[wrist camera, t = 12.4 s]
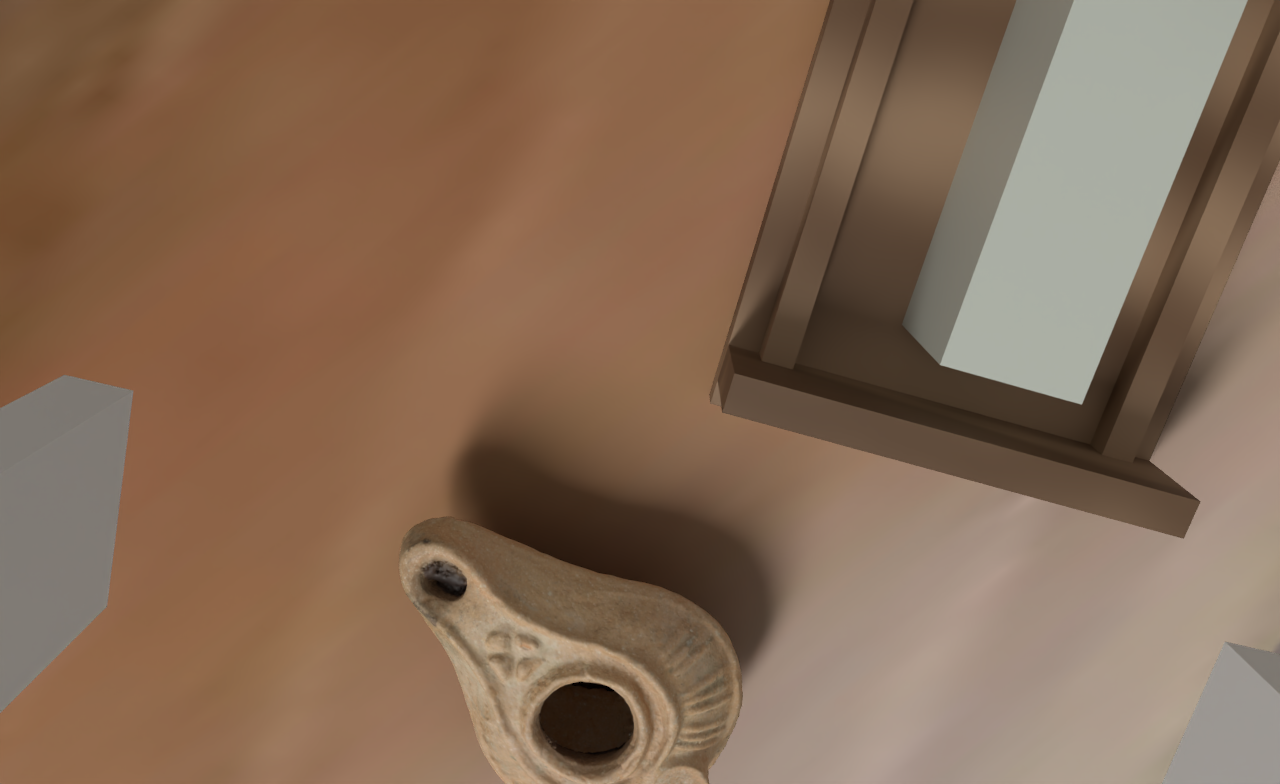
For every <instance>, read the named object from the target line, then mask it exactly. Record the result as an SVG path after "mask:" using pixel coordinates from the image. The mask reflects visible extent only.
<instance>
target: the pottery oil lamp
mask: <svg viewBox="0 0 1280 784" xmlns="http://www.w3.org/2000/svg"><path fill="white" fill-rule="evenodd" d="M399 572H400V577H401V582H402V585H403V589H404V591H405V593H406V595H407V596H408V598H409V599H410V600H411V601H412V603H413V604H414V605H415V607H416V608H417V610H418V611H419V613H420V614H421V615H422V616H423V619H424V620H425V622H426V623H427V624H428V626H429V627H430V629H431V630H432V631H433V633H434V634H435V635H436V637H437V638H438V640H439V641H440V643H441V644H442V646H443V647H444V649H445V651H446V653H447V654H448V656H449V658H450V660H451V662H452V664H453V666H454V668H455V671H456V673H457V676H458V680H459V682H460V685H461V688H462V690H463V693H464V696H465V701H466V704H467V706H468V709H469V713H470V715H471V719H472V722H473V725H474V729H475V732H476V736H477V739H478V742H479V744H480V747H481V749H482V751H483V753H484V755H485V757H486V758H487V760H488V762H489V763H490V764H491V766H492V767H493V769H494V771H495V772H496V773H497V774H498V776H499V777H500V778H501V779H502V780H503V781H504V782H505V783H506V784H709V780H708V770H709V769H710V768H711V766H713V764H714V763H715V761H716V760H717V758H718V757H719V755H720V753H721V752H722V750H723V749H724V747H725V745H726V743H727V741H728V739H729V737H730V735H731V733H732V731H733V729H734V727H735V725H736V721H737V719H738V717H739V712H740V708H741V706H742V697H743V692H742V675H741V669H740V666H739V660H738V657H737V654H736V652H735V650H734V648H733V646H732V642H731V640H730V638H729V636H728V635H727V633H726V632H725V631H724V629H723V628H722V627H721V625H720V624H719V623H718V622H717V621H716V620H715V618H713V617H712V616H711V615H710V614H709V613H708V612H707V611H705V610H704V609H702V608H701V607H699V606H698V605H696V604H694V603H693V602H691V601H690V600H688V599H686V598H685V597H683V596H682V595H679V594H677V593H674V592H672V591H669V590H667V589H665V588H662V587H660V586H656V585H652V584H649V583H645V582H638V581H633V580H627V579H622V578H619V577H616V576H613V575H607V574H602V573H597V572H594V571H592V570H588V569H586V568H582V567H579V566H576V565H573V564H570V563H568V562H564V561H562V560H559V559H556V558H554V557H552V556H550V555H548V554H545V553H541V552H539V551H537V550H535V549H533V548H531V547H529V546H527V545H525V544H522V543H519V542H517V541H515V540H512V539H509V538H506V537H504V536H502V535H499V534H497V533H495V532H493V531H491V530H488V529H486V528H484V527H482V526H479V525H477V524H473V523H471V522H467V521H463V520H458V519H455V518H453V517H441V518H432V519H428V520H426V521H423V522H421V523H419V524H417V525H415V526H414V527H412V528H411V529H410V530H409V531H408V532H407V534H406V535H405V537H404V539H403V541H402V544H401V547H400V553H399ZM580 681H583V682H589V683H593V684H596V685H606V686H608V687H610V688H612V689H613V690H615V691H614V692H609V691H606V690H605V689H603V688H601V689H596V688H593V689H591V690H589V689H587V688H584V687H581V686H572V685H570V684H571V683H576V682H580Z"/></svg>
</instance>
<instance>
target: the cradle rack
mask: <svg viewBox="0 0 1280 784" xmlns="http://www.w3.org/2000/svg"><path fill="white" fill-rule="evenodd" d="M1015 3H1016V0H830V3H829V6H828V9H827V12H826V16H825V19H824V22H823V26H822V29H821V32H820V35H819V39H818V42H817V45H816V48H815V52H814V55H813V58H812V61H811V65H810V68H809V71H808V75H807V78H806V81H805V84H804V88H803V91H802V94H801V97H800V101H799V104H798V107H797V110H796V114H795V117H794V120H793V123H792V127H791V130H790V133H789V137H788V140H787V143H786V146H785V150H784V153H783V156H782V159H781V163H780V166H779V169H778V172H777V176H776V179H775V182H774V186H773V189H772V192H771V195H770V199H769V202H768V205H767V208H766V212H765V215H764V218H763V221H762V225H761V228H760V231H759V234H758V238H757V241H756V244H755V248H754V251H753V254H752V257H751V261H750V264H749V267H748V270H747V274H746V277H745V280H744V283H743V287H742V290H741V293H740V297H739V300H738V303H737V306H736V310H735V313H734V316H733V319H732V323H731V326H730V329H729V332H728V336H727V339H726V342H725V345H724V349H723V352H722V355H721V359H720V362H719V365H718V368H717V372H716V375H715V378H714V381H713V385H712V388H711V391H710V394H709V395H710V403H711V404H715V405H718V406H722V412H723V413H726V414H730V415H734V416H737V417H741V418H745V419H748V420H752V421H756V422H759V423H763V424H767V425H770V426H774V427H778V428H781V429H785V430H788V431H792V432H796V433H799V434H803V435H807V436H810V437H814V438H818V439H821V440H825V441H829V442H832V443H836V444H840V445H843V446H847V447H851V448H854V449H858V450H862V451H865V452H869V453H873V454H876V455H880V456H884V457H887V458H891V459H895V460H898V461H902V462H906V463H909V464H913V465H917V466H920V467H924V468H927V469H931V470H935V471H938V472H942V473H946V474H949V475H953V476H957V477H960V478H964V479H968V480H971V481H975V482H979V483H982V484H986V485H990V486H993V487H997V488H1001V489H1004V490H1008V491H1012V492H1015V493H1019V494H1023V495H1026V496H1030V497H1034V498H1037V499H1041V500H1045V501H1048V502H1052V503H1055V504H1059V505H1063V506H1066V507H1070V508H1074V509H1077V510H1081V511H1085V512H1088V513H1092V514H1096V515H1099V516H1103V517H1107V518H1110V519H1114V520H1118V521H1121V522H1125V523H1129V524H1132V525H1136V526H1140V527H1143V528H1147V529H1151V530H1154V531H1158V532H1162V533H1165V534H1169V535H1173V536H1176V537H1180V538H1184V537H1185V534H1186V532H1187V530H1188V528H1189V526H1190V523H1191V521H1192V519H1193V517H1194V515H1195V512H1196V510H1197V508H1198V506H1199V504H1200V501H1199V500H1198V499H1197V498H1195V497H1194V496H1193V495H1191V494H1190V493H1189V492H1188V491H1186V490H1185V489H1184V488H1183V487H1181V486H1180V485H1179V484H1178V483H1176V482H1175V481H1174V480H1173V479H1171V478H1170V477H1169V476H1168V475H1166V474H1165V473H1164V472H1163V471H1161V470H1160V469H1159V468H1158V467H1156V466H1155V465H1154V464H1152V463H1151V462H1150V461H1149V460H1150V458H1151V456H1152V453H1153V451H1154V449H1155V446H1156V444H1157V442H1158V439H1159V437H1160V435H1161V432H1162V430H1163V428H1164V426H1165V423H1166V421H1167V419H1168V416H1169V414H1170V412H1171V409H1172V407H1173V405H1174V402H1175V400H1176V398H1177V396H1178V393H1179V391H1180V389H1181V386H1182V384H1183V382H1184V379H1185V377H1186V375H1187V373H1188V370H1189V368H1190V366H1191V363H1192V361H1193V359H1194V356H1195V354H1196V352H1197V349H1198V347H1199V345H1200V343H1201V340H1202V338H1203V336H1204V333H1205V331H1206V329H1207V326H1208V324H1209V322H1210V319H1211V317H1212V315H1213V313H1214V310H1215V308H1216V306H1217V303H1218V301H1219V299H1220V296H1221V294H1222V292H1223V289H1224V287H1225V285H1226V283H1227V280H1228V278H1229V276H1230V273H1231V271H1232V269H1233V266H1234V264H1235V262H1236V260H1237V257H1238V255H1239V253H1240V250H1241V248H1242V246H1243V243H1244V241H1245V239H1246V236H1247V234H1248V232H1249V230H1250V227H1251V225H1252V223H1253V220H1254V218H1255V216H1256V213H1257V211H1258V209H1259V206H1260V204H1261V202H1262V200H1263V197H1264V195H1265V193H1266V190H1267V188H1268V186H1269V183H1270V181H1271V179H1272V176H1273V174H1274V172H1275V170H1276V167H1277V165H1278V163H1279V160H1280V0H1248V1H1247V3H1246V6H1245V8H1244V11H1243V13H1242V16H1241V18H1240V21H1239V23H1238V25H1237V28H1236V30H1235V33H1234V35H1233V38H1232V40H1231V42H1230V45H1229V47H1228V50H1227V52H1226V55H1225V57H1224V60H1223V62H1222V64H1221V67H1220V69H1219V72H1218V74H1217V77H1216V79H1215V81H1214V84H1213V86H1212V89H1211V91H1210V94H1209V96H1208V99H1207V101H1206V103H1205V106H1204V108H1203V111H1202V113H1201V116H1200V118H1199V120H1198V123H1197V125H1196V128H1195V130H1194V133H1193V135H1192V138H1191V140H1190V142H1189V145H1188V147H1187V150H1186V152H1185V155H1184V157H1183V159H1182V162H1181V164H1180V167H1179V169H1178V172H1177V174H1176V176H1175V179H1174V181H1173V184H1172V186H1171V189H1170V191H1169V194H1168V196H1167V198H1166V201H1165V203H1164V206H1163V208H1162V211H1161V213H1160V215H1159V218H1158V220H1157V223H1156V225H1155V228H1154V230H1153V233H1152V235H1151V237H1150V240H1149V242H1148V245H1147V247H1146V250H1145V252H1144V254H1143V257H1142V259H1141V262H1140V264H1139V267H1138V269H1137V272H1136V274H1135V276H1134V279H1133V281H1132V284H1131V286H1130V289H1129V291H1128V293H1127V296H1126V298H1125V301H1124V303H1123V306H1122V308H1121V310H1120V313H1119V315H1118V318H1117V320H1116V323H1115V325H1114V328H1113V330H1112V332H1111V335H1110V337H1109V340H1108V342H1107V345H1106V347H1105V349H1104V352H1103V354H1102V357H1101V359H1100V362H1099V364H1098V367H1097V369H1096V371H1095V374H1094V376H1093V379H1092V381H1091V384H1090V386H1089V388H1088V391H1087V393H1086V396H1085V398H1084V401H1083V403H1082V405H1081V404H1078V403H1074V402H1070V401H1067V400H1063V399H1060V398H1056V397H1053V396H1049V395H1045V394H1042V393H1038V392H1035V391H1031V390H1028V389H1024V388H1020V387H1017V386H1013V385H1010V384H1006V383H1003V382H999V381H995V380H992V379H988V378H985V377H981V376H978V375H974V374H970V373H967V372H963V371H960V370H956V369H953V368H949V367H945V366H942V365H939V364H938V362H937V361H936V360H935V359H934V358H933V357H932V356H931V355H930V354H929V353H928V352H927V351H926V350H925V349H924V348H923V347H922V345H921V344H920V343H919V342H918V341H917V340H916V339H915V338H914V337H913V336H912V335H911V334H910V333H909V332H908V331H907V330H906V329H905V327H904V326H903V325H902V323H903V320H904V317H905V314H906V311H907V309H908V306H909V303H910V300H911V297H912V294H913V292H914V289H915V286H916V283H917V280H918V277H919V275H920V272H921V269H922V266H923V263H924V260H925V258H926V255H927V252H928V249H929V246H930V244H931V241H932V238H933V235H934V232H935V229H936V227H937V224H938V221H939V218H940V215H941V212H942V210H943V207H944V204H945V201H946V198H947V195H948V193H949V190H950V187H951V184H952V181H953V178H954V176H955V173H956V170H957V167H958V164H959V162H960V159H961V156H962V153H963V150H964V147H965V145H966V142H967V139H968V136H969V133H970V130H971V128H972V125H973V122H974V119H975V116H976V113H977V111H978V108H979V105H980V102H981V99H982V96H983V94H984V91H985V88H986V85H987V82H988V80H989V77H990V74H991V71H992V68H993V65H994V63H995V60H996V57H997V54H998V51H999V48H1000V46H1001V43H1002V40H1003V37H1004V34H1005V31H1006V29H1007V26H1008V23H1009V20H1010V17H1011V14H1012V12H1013V9H1014V6H1015Z"/></svg>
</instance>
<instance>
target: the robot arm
mask: <svg viewBox="0 0 1280 784" xmlns="http://www.w3.org/2000/svg"><path fill="white" fill-rule="evenodd" d="M132 397H133V391H132V390H128V389H124V388H119V387H115V386H110V385H106V384H102V383H97V382H93V381H89V380H84V379H80V378H76V377H71V376H67V375H63V376H62V377H60V378H58V379H56V380H54V381H52V382H50V383H48V384H46V385H44V386H42V387H40V388H38V389H37V390H35V391H33V392H31V393H29V394H27V395H25V396H23V397H21V398H19V399H17V400H15V401H13V402H11V403H10V404H8V405H6V406H4V407H2V408H0V713H1V712H2V711H3V710H4V709H5V708H6V707H7V706H8V705H9V704H10V703H11V702H12V701H13V700H14V699H15V698H16V697H17V696H18V695H19V694H20V693H21V692H22V691H23V690H24V689H25V688H26V687H27V686H28V685H29V684H30V683H31V682H32V681H33V680H34V679H35V678H36V677H37V676H38V675H39V674H40V673H41V672H42V671H43V670H44V669H45V668H46V667H47V666H48V665H49V664H50V663H51V662H52V661H53V660H54V659H55V658H56V657H57V656H58V655H59V654H60V653H61V652H62V651H63V650H64V649H65V648H66V647H67V646H68V645H69V644H70V643H71V642H72V641H73V640H74V639H75V638H76V637H77V636H78V635H79V634H80V633H81V632H82V631H83V630H84V629H85V628H86V627H87V626H88V625H89V624H90V623H91V622H92V621H93V620H94V619H95V618H96V617H97V616H98V615H99V614H100V613H101V612H102V611H103V610H104V609H105V608H106V607H107V602H108V594H109V585H110V577H111V569H112V561H113V553H114V544H115V536H116V528H117V520H118V512H119V503H120V495H121V487H122V479H123V471H124V462H125V454H126V446H127V438H128V430H129V421H130V413H131V405H132ZM1162 784H1280V654H1277V653H1272V652H1268V651H1264V650H1259V649H1255V648H1251V647H1246V646H1242V645H1238V644H1233V643H1229V642H1225V643H1224V645H1223V647H1222V650H1221V652H1220V654H1219V656H1218V659H1217V661H1216V663H1215V665H1214V668H1213V670H1212V672H1211V674H1210V677H1209V679H1208V681H1207V683H1206V686H1205V688H1204V690H1203V692H1202V695H1201V697H1200V699H1199V701H1198V704H1197V706H1196V708H1195V710H1194V713H1193V715H1192V717H1191V719H1190V722H1189V724H1188V726H1187V728H1186V731H1185V733H1184V735H1183V737H1182V740H1181V742H1180V744H1179V746H1178V749H1177V751H1176V753H1175V756H1174V758H1173V760H1172V762H1171V765H1170V767H1169V769H1168V771H1167V774H1166V776H1165V778H1164V780H1163V783H1162Z"/></svg>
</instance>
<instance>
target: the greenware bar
mask: <svg viewBox="0 0 1280 784" xmlns="http://www.w3.org/2000/svg"><path fill="white" fill-rule="evenodd" d="M1247 1H1248V0H1016V3H1015V6H1014V9H1013V12H1012V14H1011V17H1010V20H1009V23H1008V26H1007V29H1006V31H1005V34H1004V37H1003V40H1002V43H1001V46H1000V48H999V51H998V54H997V57H996V60H995V63H994V65H993V68H992V71H991V74H990V77H989V80H988V82H987V85H986V88H985V91H984V94H983V96H982V99H981V102H980V105H979V108H978V111H977V113H976V116H975V119H974V122H973V125H972V128H971V130H970V133H969V136H968V139H967V142H966V145H965V147H964V150H963V153H962V156H961V159H960V162H959V164H958V167H957V170H956V173H955V176H954V178H953V181H952V184H951V187H950V190H949V193H948V195H947V198H946V201H945V204H944V207H943V210H942V212H941V215H940V218H939V221H938V224H937V227H936V229H935V232H934V235H933V238H932V241H931V244H930V246H929V249H928V252H927V255H926V258H925V260H924V263H923V266H922V269H921V272H920V275H919V277H918V280H917V283H916V286H915V289H914V292H913V294H912V297H911V300H910V303H909V306H908V309H907V311H906V314H905V317H904V320H903V323H902V325H903V326H904V327H905V329H906V330H907V331H908V332H909V333H910V334H911V335H912V336H913V337H914V338H915V339H916V340H917V341H918V342H919V343H920V344H921V345H922V347H923V348H924V349H925V350H926V351H927V352H928V353H929V354H930V355H931V356H932V357H933V358H934V359H935V360H936V361H937V362H938V364H939V365H942V366H945V367H949V368H953V369H956V370H960V371H963V372H967V373H970V374H974V375H978V376H981V377H985V378H988V379H992V380H995V381H999V382H1003V383H1006V384H1010V385H1013V386H1017V387H1020V388H1024V389H1028V390H1031V391H1035V392H1038V393H1042V394H1045V395H1049V396H1053V397H1056V398H1060V399H1063V400H1067V401H1070V402H1074V403H1078V404H1081V405H1082V403H1083V401H1084V398H1085V396H1086V393H1087V391H1088V388H1089V386H1090V384H1091V381H1092V379H1093V376H1094V374H1095V371H1096V369H1097V367H1098V364H1099V362H1100V359H1101V357H1102V354H1103V352H1104V349H1105V347H1106V345H1107V342H1108V340H1109V337H1110V335H1111V332H1112V330H1113V328H1114V325H1115V323H1116V320H1117V318H1118V315H1119V313H1120V310H1121V308H1122V306H1123V303H1124V301H1125V298H1126V296H1127V293H1128V291H1129V289H1130V286H1131V284H1132V281H1133V279H1134V276H1135V274H1136V272H1137V269H1138V267H1139V264H1140V262H1141V259H1142V257H1143V254H1144V252H1145V250H1146V247H1147V245H1148V242H1149V240H1150V237H1151V235H1152V233H1153V230H1154V228H1155V225H1156V223H1157V220H1158V218H1159V215H1160V213H1161V211H1162V208H1163V206H1164V203H1165V201H1166V198H1167V196H1168V194H1169V191H1170V189H1171V186H1172V184H1173V181H1174V179H1175V176H1176V174H1177V172H1178V169H1179V167H1180V164H1181V162H1182V159H1183V157H1184V155H1185V152H1186V150H1187V147H1188V145H1189V142H1190V140H1191V138H1192V135H1193V133H1194V130H1195V128H1196V125H1197V123H1198V120H1199V118H1200V116H1201V113H1202V111H1203V108H1204V106H1205V103H1206V101H1207V99H1208V96H1209V94H1210V91H1211V89H1212V86H1213V84H1214V81H1215V79H1216V77H1217V74H1218V72H1219V69H1220V67H1221V64H1222V62H1223V60H1224V57H1225V55H1226V52H1227V50H1228V47H1229V45H1230V42H1231V40H1232V38H1233V35H1234V33H1235V30H1236V28H1237V25H1238V23H1239V21H1240V18H1241V16H1242V13H1243V11H1244V8H1245V6H1246V3H1247Z"/></svg>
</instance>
